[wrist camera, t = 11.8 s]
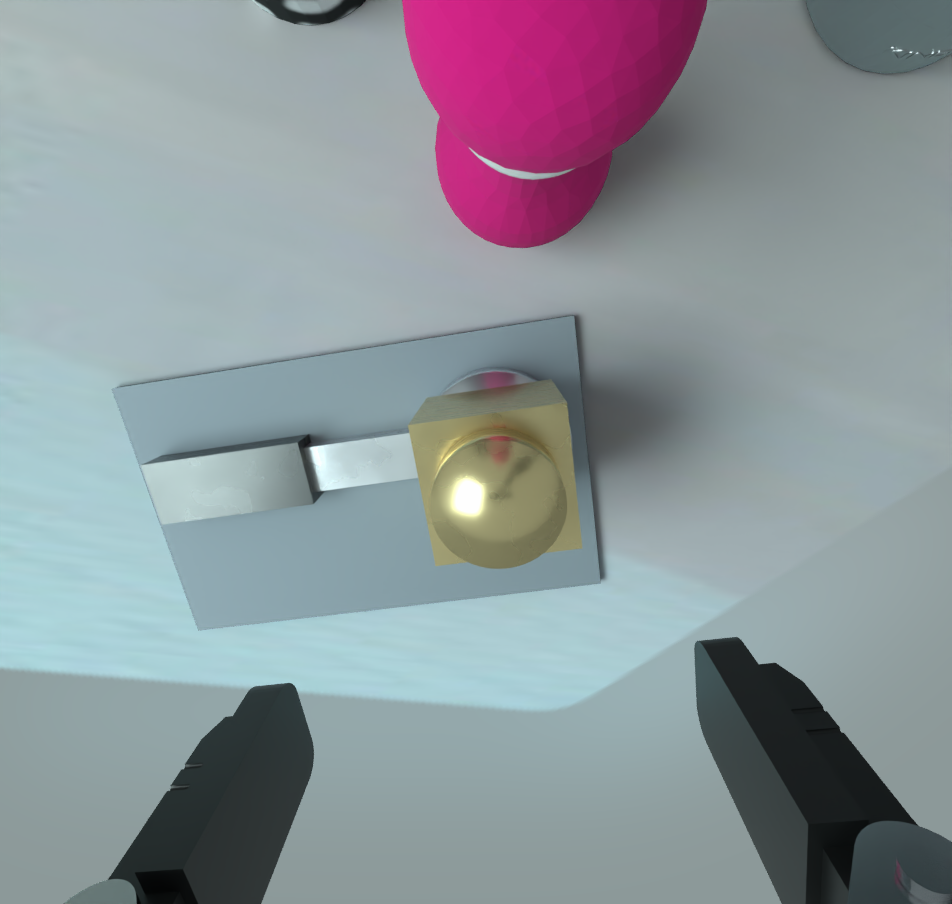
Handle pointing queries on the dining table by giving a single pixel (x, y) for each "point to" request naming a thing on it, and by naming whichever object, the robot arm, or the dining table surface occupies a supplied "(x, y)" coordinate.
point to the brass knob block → (497, 474)
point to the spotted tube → (309, 10)
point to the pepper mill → (541, 100)
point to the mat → (354, 508)
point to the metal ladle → (290, 466)
